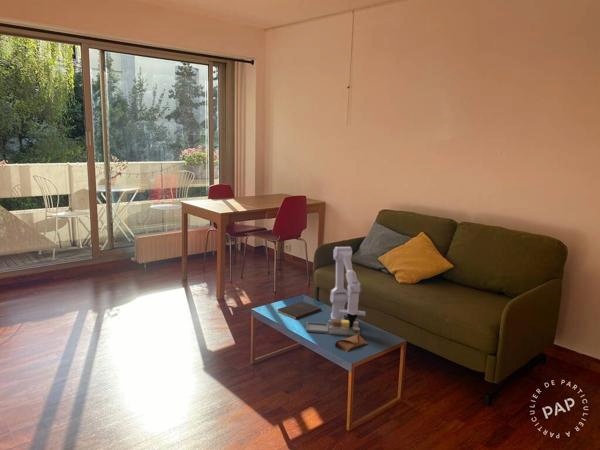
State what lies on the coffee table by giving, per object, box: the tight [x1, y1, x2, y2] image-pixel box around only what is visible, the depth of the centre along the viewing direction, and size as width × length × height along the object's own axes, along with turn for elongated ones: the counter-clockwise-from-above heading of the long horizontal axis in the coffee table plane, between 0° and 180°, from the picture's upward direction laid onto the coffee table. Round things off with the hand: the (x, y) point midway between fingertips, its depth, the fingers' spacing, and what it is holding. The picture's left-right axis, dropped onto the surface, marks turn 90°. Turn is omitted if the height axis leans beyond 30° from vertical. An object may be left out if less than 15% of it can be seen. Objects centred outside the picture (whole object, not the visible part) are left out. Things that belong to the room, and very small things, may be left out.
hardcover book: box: [276, 300, 322, 321], centre depth 290 cm, size 16×23×2 cm
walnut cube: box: [332, 319, 341, 326], centre depth 264 cm, size 4×4×4 cm
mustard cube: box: [341, 319, 349, 327], centre depth 264 cm, size 4×4×4 cm
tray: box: [305, 321, 329, 334], centre depth 265 cm, size 11×12×1 cm
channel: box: [327, 318, 361, 337], centre depth 265 cm, size 12×17×4 cm
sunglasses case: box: [334, 334, 369, 353], centre depth 247 cm, size 18×7×7 cm, turn 132°
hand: (351, 326), depth 264 cm, fingers closed
